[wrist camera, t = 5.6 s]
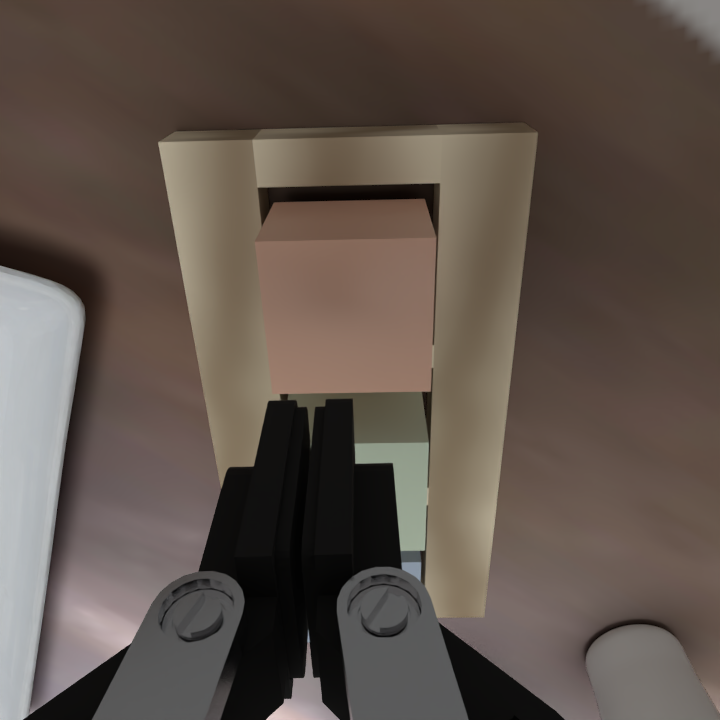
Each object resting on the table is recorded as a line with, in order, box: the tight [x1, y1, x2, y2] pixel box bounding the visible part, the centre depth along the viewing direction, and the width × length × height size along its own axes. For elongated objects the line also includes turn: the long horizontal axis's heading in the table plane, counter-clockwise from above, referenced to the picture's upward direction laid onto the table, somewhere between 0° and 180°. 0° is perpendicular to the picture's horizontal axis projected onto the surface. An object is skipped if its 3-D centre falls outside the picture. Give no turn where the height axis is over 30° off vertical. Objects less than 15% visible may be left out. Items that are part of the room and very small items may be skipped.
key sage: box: [288, 392, 429, 551], centre depth 23 cm, size 5×5×4 cm
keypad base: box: [158, 122, 538, 618], centre depth 26 cm, size 12×23×2 cm, turn 2°
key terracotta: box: [255, 199, 436, 394], centre depth 20 cm, size 5×5×4 cm
